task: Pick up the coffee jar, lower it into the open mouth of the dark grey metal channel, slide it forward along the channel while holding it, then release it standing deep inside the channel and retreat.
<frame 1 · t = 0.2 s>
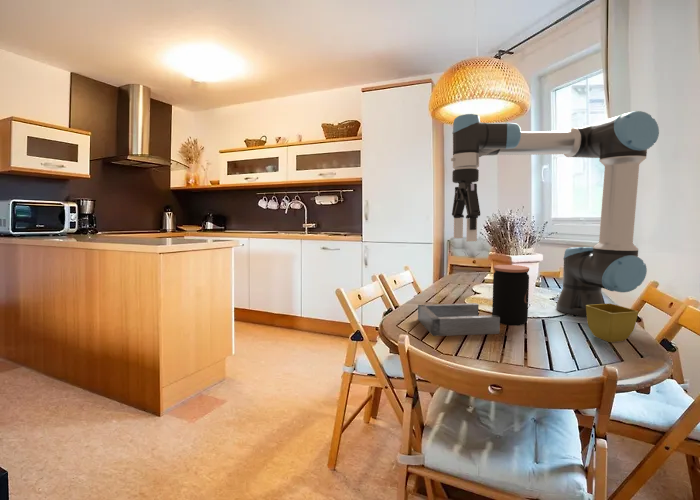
hand: (464, 239, 112), 27 cm above the table, fingers open, 13 cm apart
coffee jar: (509, 322, 120), on the table
channel: (456, 326, 116), on the table
flower pot: (609, 340, 102), on the table
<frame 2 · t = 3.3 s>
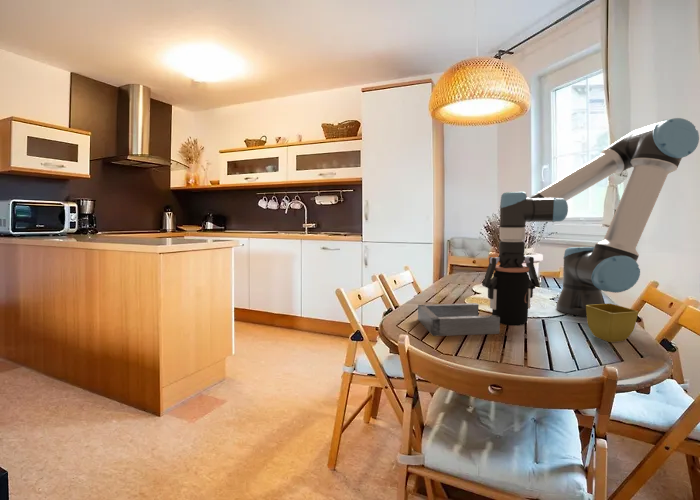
hand: (509, 308, 119), 4 cm above the table, fingers closed on coffee jar, 11 cm apart
coffee jar: (509, 322, 120), on the table, touching gripper
everything else where it was.
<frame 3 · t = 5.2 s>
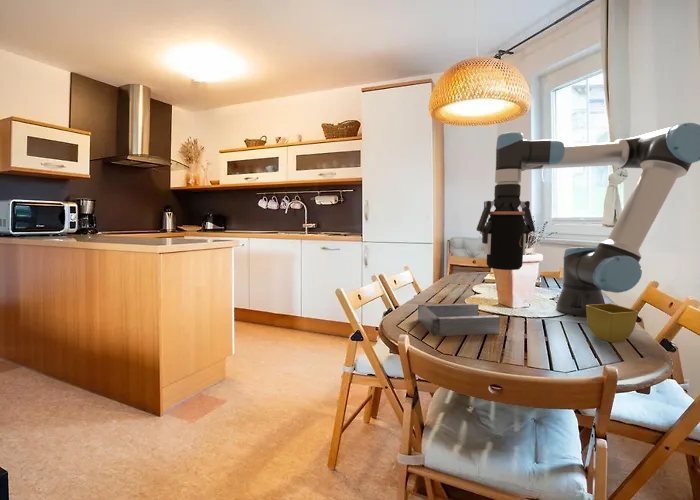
hand: (504, 253, 117), 22 cm above the table, fingers closed on coffee jar, 11 cm apart
coffee jar: (503, 268, 118), point 18 cm above the table, touching gripper
everything else where it was.
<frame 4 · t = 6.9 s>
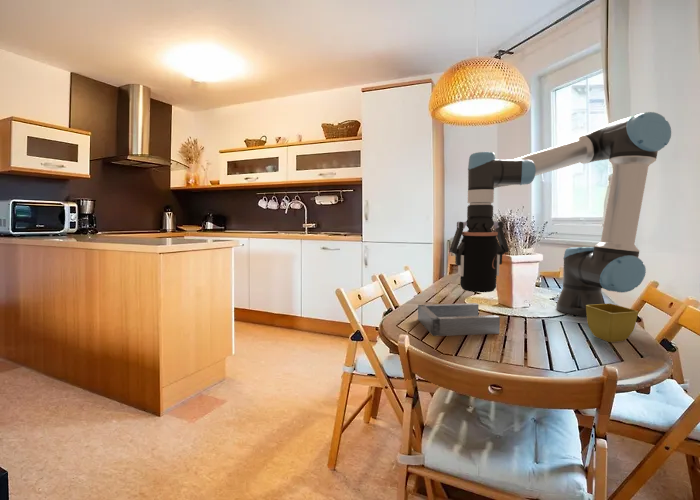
hand: (478, 275, 115), 16 cm above the table, fingers closed on coffee jar, 11 cm apart
coffee jar: (477, 289, 115), point 11 cm above the table, touching gripper
everything else where it was.
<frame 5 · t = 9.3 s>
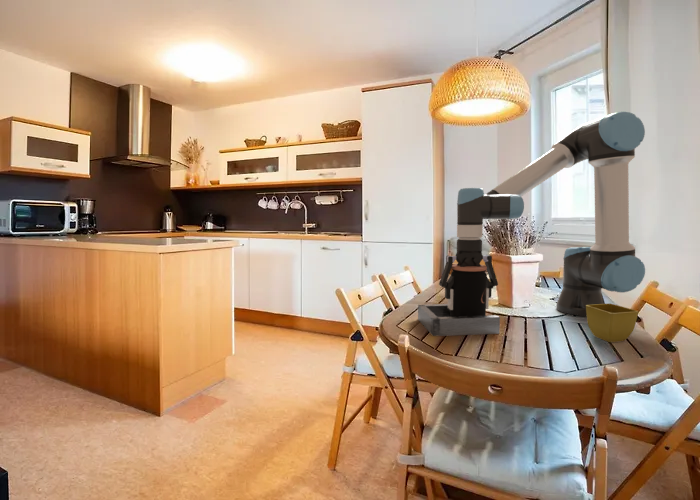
hand: (467, 308, 115), 6 cm above the table, fingers closed on coffee jar, 11 cm apart
coffee jar: (467, 322, 116), point 1 cm above the table, touching gripper
everything else where it was.
when the fingers open (5 cm above the table, at t = 10.9 s): coffee jar stays where it is, on the table.
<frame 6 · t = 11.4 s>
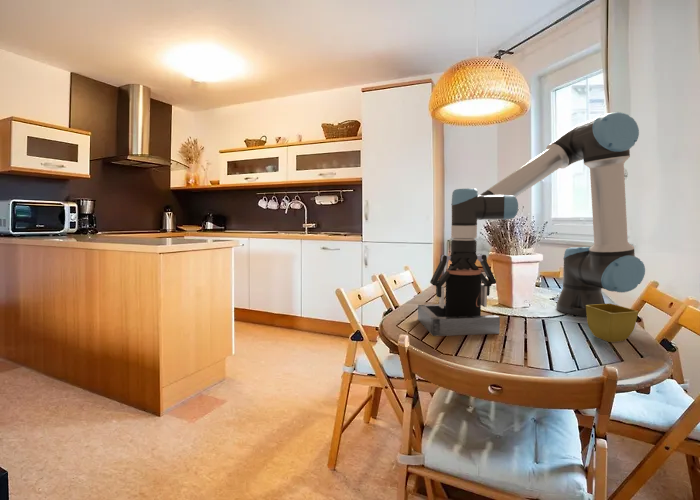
hand: (462, 306, 115), 6 cm above the table, fingers open, 13 cm apart
coffee jar: (462, 326, 116), on the table
everything else where it was.
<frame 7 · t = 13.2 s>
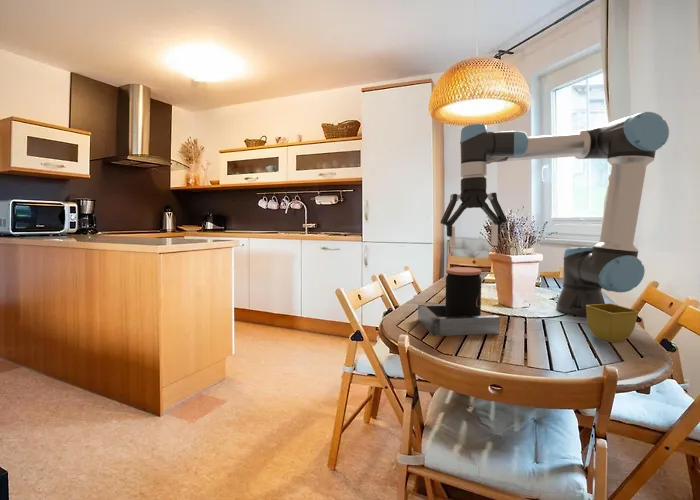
hand: (473, 246, 115), 25 cm above the table, fingers open, 13 cm apart
nothing on the table moved.
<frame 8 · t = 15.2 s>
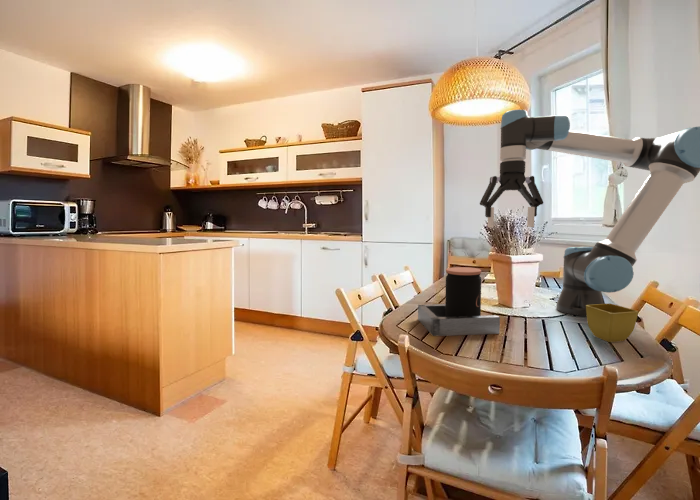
hand: (510, 227, 120), 31 cm above the table, fingers open, 13 cm apart
nothing on the table moved.
at the end: coffee jar inside the target area (2.1 cm from its centre), on the table; coffee jar tilted 0°; the gripper is holding nothing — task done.
